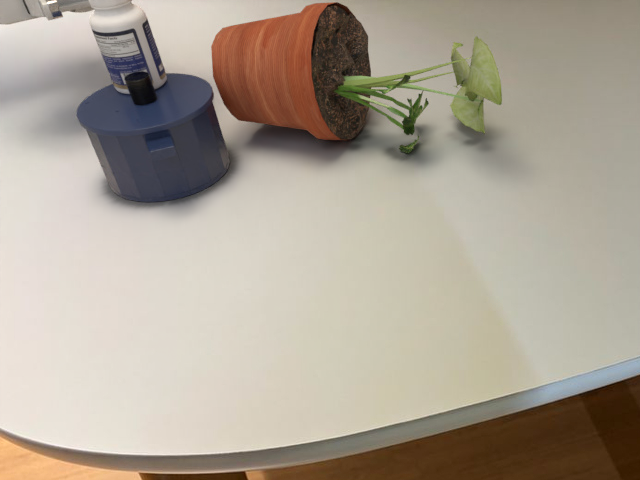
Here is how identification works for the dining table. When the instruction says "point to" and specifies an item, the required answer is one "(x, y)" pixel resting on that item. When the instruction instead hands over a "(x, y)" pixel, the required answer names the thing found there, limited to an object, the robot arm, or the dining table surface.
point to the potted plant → (331, 75)
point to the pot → (164, 160)
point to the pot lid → (145, 105)
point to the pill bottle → (126, 42)
